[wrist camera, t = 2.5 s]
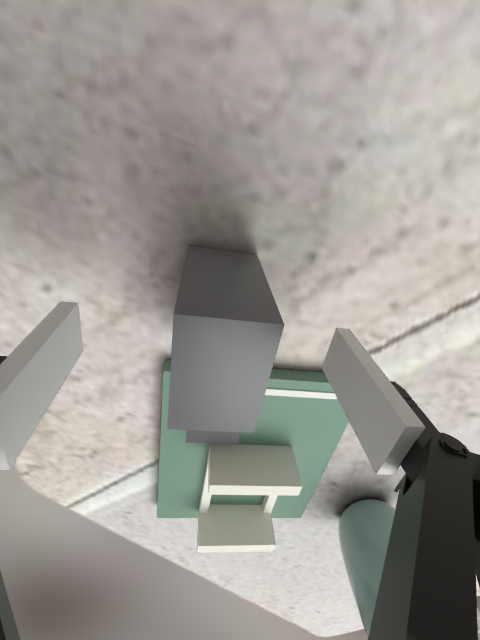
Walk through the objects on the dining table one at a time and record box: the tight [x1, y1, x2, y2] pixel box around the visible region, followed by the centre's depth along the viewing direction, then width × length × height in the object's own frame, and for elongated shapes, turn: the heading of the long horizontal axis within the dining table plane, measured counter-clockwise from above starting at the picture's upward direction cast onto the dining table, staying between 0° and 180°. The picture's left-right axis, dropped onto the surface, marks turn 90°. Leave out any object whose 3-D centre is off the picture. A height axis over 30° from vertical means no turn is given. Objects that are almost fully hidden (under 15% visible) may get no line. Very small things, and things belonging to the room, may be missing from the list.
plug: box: [167, 245, 284, 433], centre depth 16 cm, size 7×4×8 cm, turn 171°
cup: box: [338, 499, 396, 637], centre depth 30 cm, size 8×8×10 cm
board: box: [157, 360, 349, 553], centre depth 25 cm, size 19×15×5 cm
